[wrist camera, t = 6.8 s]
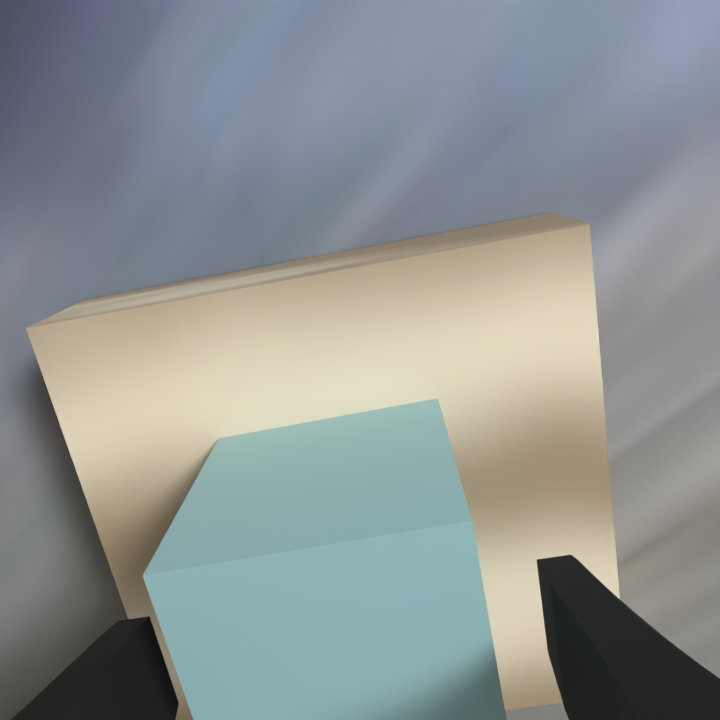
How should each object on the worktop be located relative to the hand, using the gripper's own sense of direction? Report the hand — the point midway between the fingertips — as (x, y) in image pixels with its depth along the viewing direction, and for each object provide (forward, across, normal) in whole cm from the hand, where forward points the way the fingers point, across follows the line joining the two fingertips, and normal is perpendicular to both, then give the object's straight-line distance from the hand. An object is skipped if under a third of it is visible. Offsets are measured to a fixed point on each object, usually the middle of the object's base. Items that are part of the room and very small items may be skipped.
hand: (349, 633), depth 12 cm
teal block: (+3, 0, 0) cm, 4 cm away
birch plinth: (+6, 0, 0) cm, 7 cm away
